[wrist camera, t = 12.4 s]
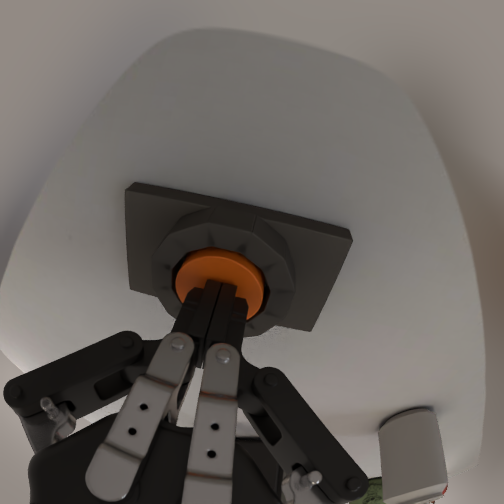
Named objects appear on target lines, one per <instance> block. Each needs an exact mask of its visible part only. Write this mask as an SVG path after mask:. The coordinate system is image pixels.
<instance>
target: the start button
mask: <svg viewBox="0 0 504 504" xmlns="http://www.w3.org/2000/svg"><path fill="white" fill-rule="evenodd" d="M207 279H210V280H214V281H218V282H222V284H223V283H227V284H231V285H236V286H237V291H236V297H240V298H245V299H246V301H247V304H248V306H249V308H248V314H247V319H249V318H251V317H252V316H253V315H254V314H255V313H256V312H257V311H258V310H259V308H260V306H261V304H262V300H263V293H264V285H265V276H264V274H263V271H262V270H261V269H260V268H259V267H258V266H256V265H255V264H254V263H252V262H251V261H250V260H249V259H247V258H246V257H245V256H244V255H242V254H241V253H239V252H235V251H230V250H226V249H221V248H217V247H213V246H210V247H206V248H202V249H198V250H194V251H190V252H189V253H188V255H187V256H186V258H185V260H184V262H183V264H182V266H181V268H180V270H179V272H178V274H177V277H176V291H177V294H178V296H179V298H180V300H181V302H182V303H183V302H184V300H185V297H186V295H187V293H188V292H189V291H190V290H191V289H193V288H194V287H198V288H202V289H204V286H205V284H206V281H207ZM221 288H222V287H221ZM247 319H246V320H247Z"/></svg>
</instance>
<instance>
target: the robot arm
mask: <svg viewBox="0 0 504 504" xmlns="http://www.w3.org/2000/svg"><path fill="white" fill-rule="evenodd" d="M221 287H222V288H221ZM236 291H237V286H236V285H231V284H227V283H223V284H222V282H218V281H214V280H210V279H207V281H206V284H205V286H204V289H202V288H198V287H194V288H193V289H191V290H190V291H189V292H188V293H187V295H186V297H185V300H184V302H183V304H182V307H181V309H180V311H179V314H178V316H177V319H176V321H175V323H174V326H173V328H172V330H171V332H170V333H169V334H167V335H166V336H165V337H164V338H163V339H160V340H142V338H141V337H140V336H139V335H138V334H137V333H135V332H132V331H122V332H119V333H117V334H115V335H113V336H110V337H108V338H106V339H104V340H101V341H99V342H97V343H95V344H92V345H90V346H88V347H85V348H83V349H81V350H79V351H76V352H74V353H72V354H69V355H67V356H65V357H63V358H60V359H58V360H56V361H53V362H51V363H49V364H46V365H44V366H42V367H39V368H37V369H35V370H32V371H30V372H28V373H25V374H23V375H20V376H18V377H16V378H14V379H11V380H10V381H8V382H7V384H6V385H5V387H4V391H3V395H4V399H5V401H6V403H7V404H8V405H9V406H10V407H11V408H12V409H13V410H14V412H15V413H16V414H17V415H18V416H19V418H20V420H21V423H22V426H23V428H24V430H25V433H26V435H27V438H28V440H29V442H30V445H31V447H32V449H33V451H34V453H35V455H34V456H33V457H32V459H31V461H30V463H29V467H28V478H29V484H30V504H283V503H282V501H281V500H280V498H279V497H278V495H277V494H276V493H275V491H274V490H273V488H272V487H271V485H270V484H269V482H268V481H267V479H266V478H265V476H264V475H263V473H262V472H261V470H260V469H259V467H258V466H257V464H256V462H255V461H254V459H253V458H252V456H251V455H250V454H249V453H248V451H247V450H246V449H245V448H243V447H242V446H241V445H240V444H238V443H237V442H235V434H236V422H237V409H238V407H239V408H241V409H242V410H243V413H244V414H245V416H246V417H247V419H248V420H249V422H250V423H251V425H252V426H253V428H254V429H255V431H256V432H257V434H258V435H259V437H260V438H261V440H262V441H263V442H264V444H265V445H266V447H267V448H268V450H269V451H270V452H271V454H272V455H273V457H274V458H275V459H276V461H277V462H278V463H279V465H280V466H281V467H282V469H283V470H284V471H285V473H286V474H287V475H286V476H285V477H284V479H283V481H282V485H281V487H282V491H283V493H284V495H285V498H286V504H345V503H348V502H352V501H355V500H358V499H360V498H362V497H363V496H364V495H365V494H366V492H367V490H368V488H369V480H368V477H367V476H366V474H365V473H364V472H363V471H362V470H361V468H360V467H359V466H358V465H357V464H356V463H355V461H354V460H353V459H352V458H351V457H350V455H349V454H348V453H347V452H346V451H345V450H344V448H343V447H342V446H341V445H340V444H339V442H338V441H337V440H336V439H335V438H334V436H333V435H332V434H331V433H330V431H329V430H328V429H327V428H326V427H325V425H324V424H323V423H322V422H321V420H320V419H319V418H318V417H317V415H316V414H315V413H314V412H313V410H312V409H311V408H310V407H309V405H308V404H307V403H306V401H305V400H304V399H303V398H302V396H301V395H300V394H299V393H298V391H297V390H296V389H295V387H294V386H293V385H292V384H291V382H290V381H289V380H288V378H287V377H286V376H285V374H284V373H283V372H282V371H280V370H279V369H276V368H273V367H264V368H261V369H259V368H257V367H255V366H253V365H251V364H250V363H249V362H247V361H246V360H245V358H244V357H243V355H242V352H241V346H242V341H243V336H244V330H245V325H246V319H247V314H248V308H249V306H248V304H247V301H246V299H245V298H240V297H236ZM202 363H203V367H202V369H204V371H203V377H202V382H201V388H200V393H199V397H198V403H197V409H196V415H195V421H194V427H193V428H190V427H178V426H176V424H177V420H178V415H179V412H180V409H181V407H182V404H183V402H184V399H185V397H186V394H187V391H188V389H189V386H190V384H191V381H192V378H193V375H194V372H195V368H196V367H197V368H201V366H202ZM126 395H128V396H127V397H126V399H125V401H124V403H123V405H122V407H121V409H120V411H119V412H118V413H114V414H111V415H108V416H106V417H104V418H102V419H100V420H98V421H97V422H95V423H93V424H91V425H89V426H87V427H85V428H83V429H81V430H80V431H78V432H76V433H74V434H72V435H70V436H68V435H69V434H71V433H72V432H73V431H74V430H75V427H76V420H77V419H79V418H81V417H83V416H86V415H88V414H90V413H92V412H94V411H96V410H98V409H100V408H102V407H104V406H106V405H108V404H110V403H112V402H114V401H116V400H118V399H120V398H122V397H124V396H126ZM67 436H68V437H67Z"/></svg>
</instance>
